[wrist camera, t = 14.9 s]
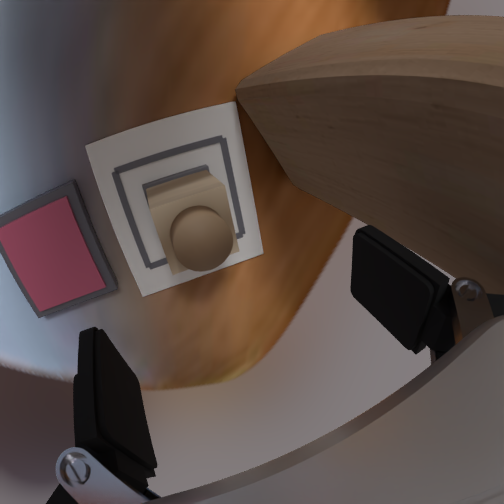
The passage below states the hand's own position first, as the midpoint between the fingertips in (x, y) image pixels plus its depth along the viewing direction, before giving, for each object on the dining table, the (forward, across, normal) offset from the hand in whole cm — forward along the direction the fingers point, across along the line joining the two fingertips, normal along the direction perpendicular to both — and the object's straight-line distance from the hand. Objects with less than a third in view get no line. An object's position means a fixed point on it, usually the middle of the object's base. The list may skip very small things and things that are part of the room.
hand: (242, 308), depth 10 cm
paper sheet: (+14, 0, +1) cm, 14 cm away
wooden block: (+14, -12, -4) cm, 19 cm away
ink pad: (+14, +11, +1) cm, 18 cm away
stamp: (+14, 0, +1) cm, 14 cm away
